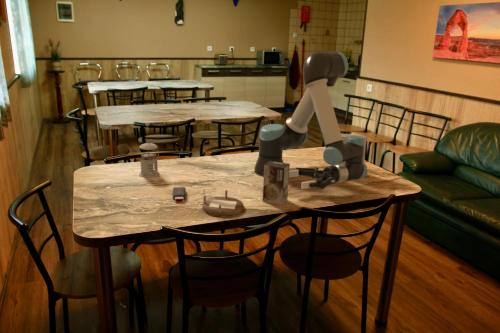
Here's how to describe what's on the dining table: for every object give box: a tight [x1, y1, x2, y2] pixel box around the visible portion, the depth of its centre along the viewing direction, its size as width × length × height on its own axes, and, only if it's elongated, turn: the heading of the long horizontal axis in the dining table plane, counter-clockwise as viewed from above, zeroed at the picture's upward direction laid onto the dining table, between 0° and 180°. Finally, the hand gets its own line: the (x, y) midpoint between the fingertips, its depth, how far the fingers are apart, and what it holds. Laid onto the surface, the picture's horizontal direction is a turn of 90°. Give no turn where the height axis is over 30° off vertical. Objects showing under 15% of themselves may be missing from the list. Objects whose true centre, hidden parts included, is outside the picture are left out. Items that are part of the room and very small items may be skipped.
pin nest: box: [202, 189, 244, 218], centre depth 159 cm, size 16×16×4 cm
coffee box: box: [262, 161, 290, 206], centre depth 167 cm, size 9×6×16 cm
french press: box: [138, 122, 161, 179], centre depth 190 cm, size 10×12×25 cm
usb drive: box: [172, 186, 187, 203], centre depth 169 cm, size 5×12×3 cm, turn 10°
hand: (292, 180), depth 169 cm, fingers open, 13 cm apart
